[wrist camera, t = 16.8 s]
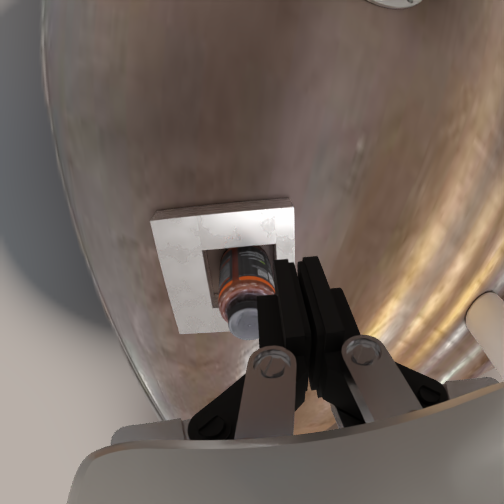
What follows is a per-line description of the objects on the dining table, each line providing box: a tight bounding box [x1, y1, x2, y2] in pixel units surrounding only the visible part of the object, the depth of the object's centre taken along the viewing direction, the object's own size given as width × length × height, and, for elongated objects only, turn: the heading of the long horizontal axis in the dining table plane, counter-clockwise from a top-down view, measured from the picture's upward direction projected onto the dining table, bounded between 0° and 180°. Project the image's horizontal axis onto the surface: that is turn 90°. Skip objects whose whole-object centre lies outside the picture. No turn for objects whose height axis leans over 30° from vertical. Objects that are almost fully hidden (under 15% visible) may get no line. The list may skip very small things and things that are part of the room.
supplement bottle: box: [218, 245, 275, 340], centre depth 32 cm, size 6×6×11 cm
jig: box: [150, 198, 295, 334], centre depth 36 cm, size 15×16×3 cm
